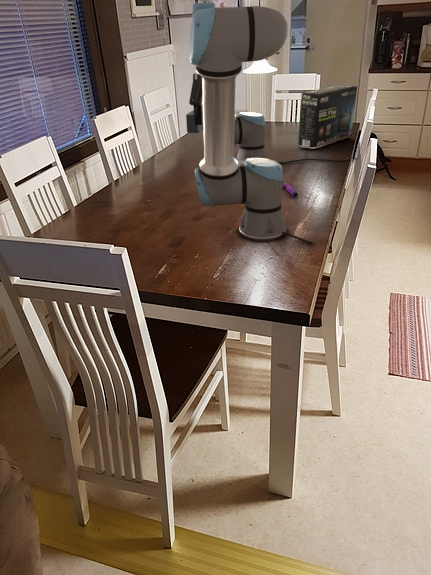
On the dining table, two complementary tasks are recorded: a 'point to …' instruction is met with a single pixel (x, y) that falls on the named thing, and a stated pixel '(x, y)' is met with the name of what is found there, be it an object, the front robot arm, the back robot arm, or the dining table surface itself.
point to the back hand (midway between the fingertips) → (207, 119)
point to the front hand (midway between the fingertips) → (208, 121)
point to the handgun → (289, 188)
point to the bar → (193, 123)
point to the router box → (326, 115)
